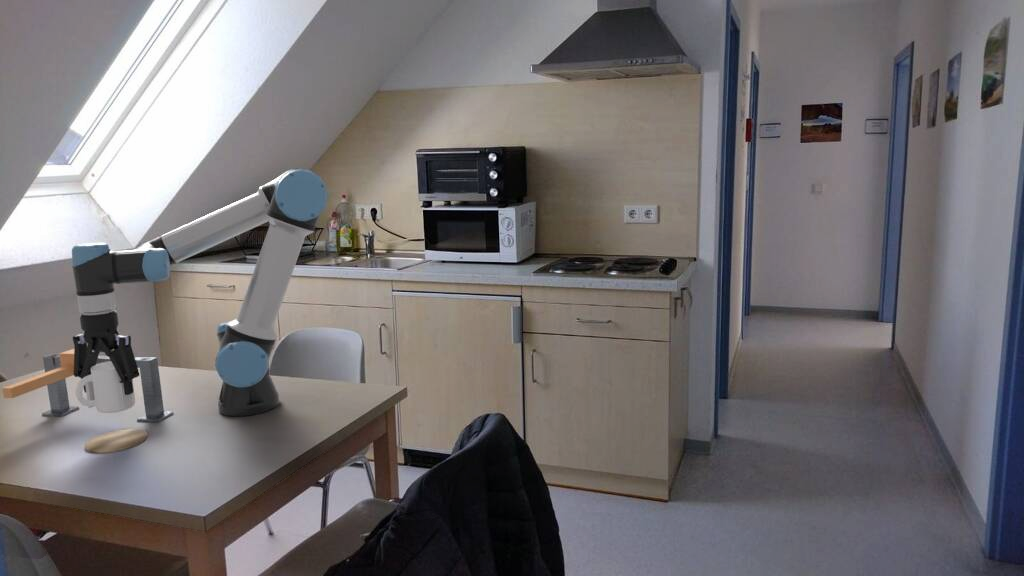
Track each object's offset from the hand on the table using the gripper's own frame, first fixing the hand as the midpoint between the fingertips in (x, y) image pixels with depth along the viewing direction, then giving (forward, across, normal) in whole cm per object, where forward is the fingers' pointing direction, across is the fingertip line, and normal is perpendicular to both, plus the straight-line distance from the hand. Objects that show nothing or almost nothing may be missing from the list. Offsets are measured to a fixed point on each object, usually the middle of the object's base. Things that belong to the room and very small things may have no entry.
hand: (110, 406), depth 176 cm
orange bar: (-2, +24, -7) cm, 25 cm away
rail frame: (+9, +16, -16) cm, 25 cm away
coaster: (+9, 0, 0) cm, 9 cm away
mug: (+1, +1, 0) cm, 1 cm away
